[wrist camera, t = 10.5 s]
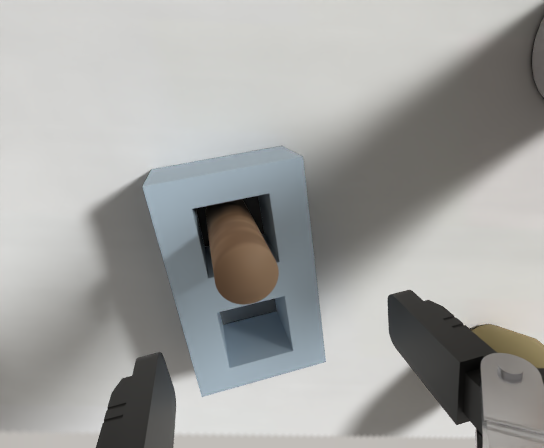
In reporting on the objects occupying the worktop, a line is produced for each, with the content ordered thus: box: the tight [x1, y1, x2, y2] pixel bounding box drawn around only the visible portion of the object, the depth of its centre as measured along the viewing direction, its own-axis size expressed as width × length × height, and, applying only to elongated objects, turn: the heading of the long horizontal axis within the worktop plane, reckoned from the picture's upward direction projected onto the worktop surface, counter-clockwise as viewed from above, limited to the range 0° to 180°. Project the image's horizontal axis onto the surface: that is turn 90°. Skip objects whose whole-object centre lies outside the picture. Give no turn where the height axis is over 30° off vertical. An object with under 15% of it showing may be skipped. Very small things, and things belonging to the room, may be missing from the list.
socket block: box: [142, 146, 326, 397], centre depth 25 cm, size 9×15×5 cm, turn 8°
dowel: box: [205, 199, 279, 305], centre depth 21 cm, size 3×3×10 cm
